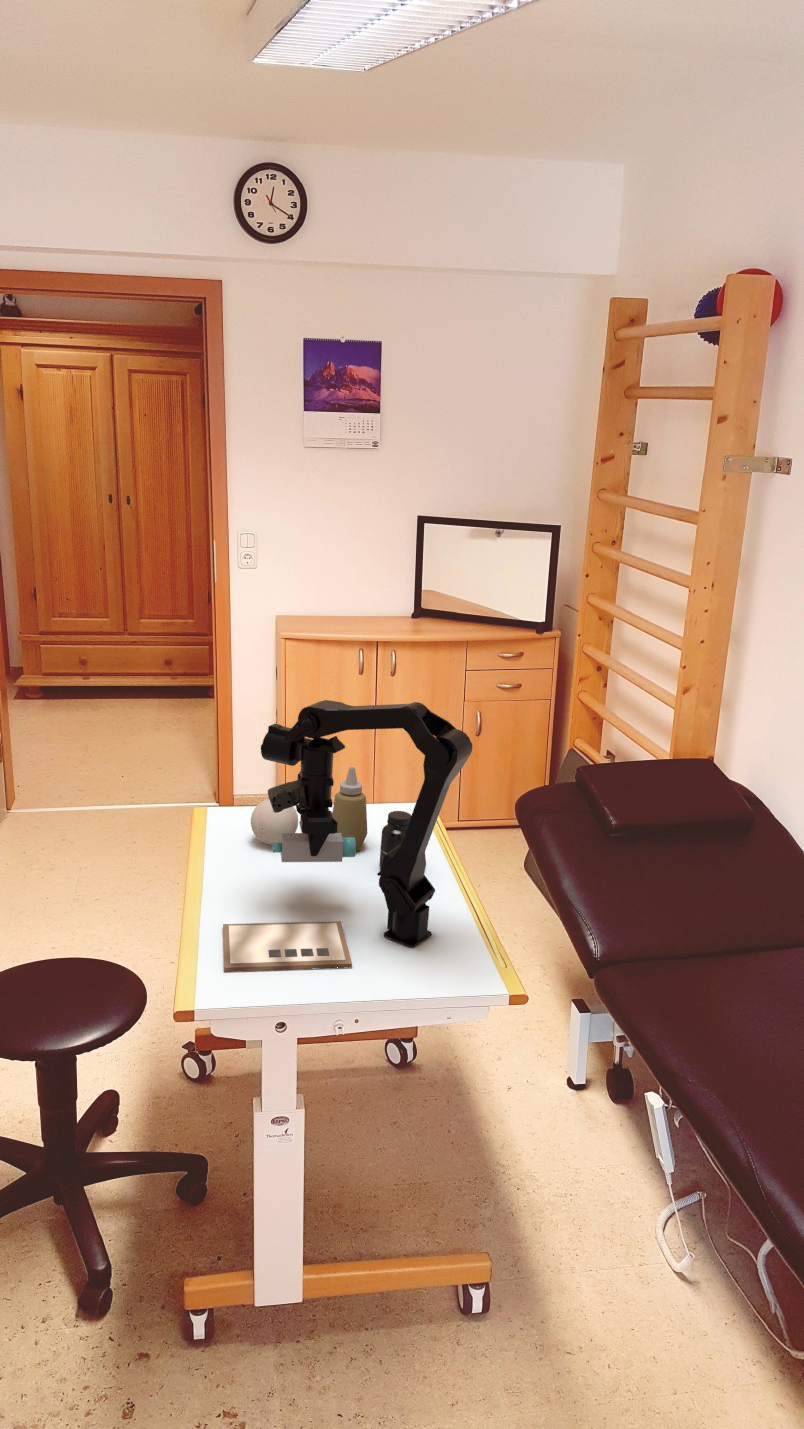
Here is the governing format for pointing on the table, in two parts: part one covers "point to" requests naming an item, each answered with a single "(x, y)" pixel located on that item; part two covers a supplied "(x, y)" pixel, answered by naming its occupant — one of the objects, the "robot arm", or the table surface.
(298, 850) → the marker
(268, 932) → the brown framed board
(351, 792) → the squeeze bottle
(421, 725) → the robot arm
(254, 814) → the beige ball
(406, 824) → the supplement bottle
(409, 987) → the table surface
